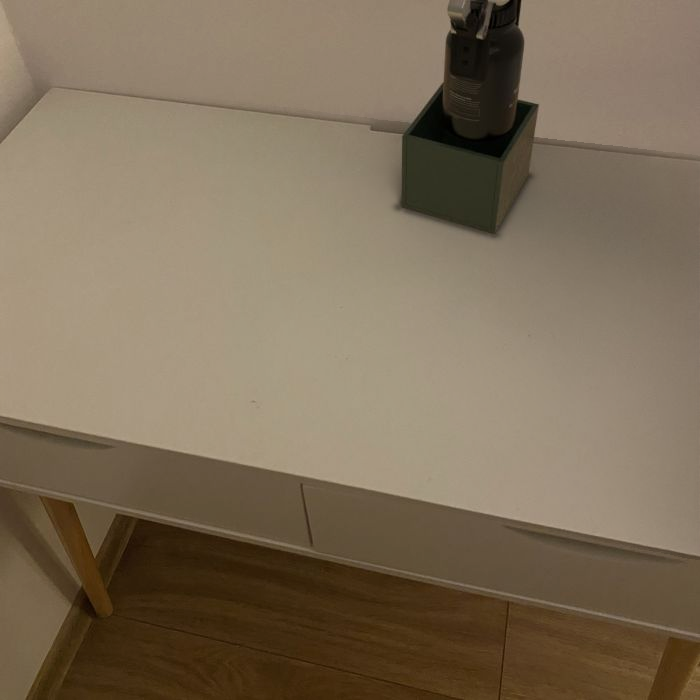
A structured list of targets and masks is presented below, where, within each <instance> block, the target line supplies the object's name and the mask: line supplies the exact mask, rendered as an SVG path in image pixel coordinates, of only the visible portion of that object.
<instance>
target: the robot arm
mask: <svg viewBox="0 0 700 700" xmlns="http://www.w3.org/2000/svg"><path fill="white" fill-rule="evenodd" d="M508 1H509V0H449V1H448V5H447V9H446V11H447V12H446V13H447V16H448V17H449V22H450V29H451V34H452V38H451V56H450V73H451V74H452V75H455V76H459V77H464V78H468V79H473V80H477V81H484V80H485V78H486V77H487V74H488V63H489V53H490V42H491V35H490V34H487V30H488V26H489V21H490V17H491V12H492V8H493V3H496V5H498V6H502V5H504V4H505V3H507V2H508ZM471 2H475V3H480V4H483V5H482V10H481V14H480V19H479V20H478V18H477V16H476V14H474V13H471V12H470V11H471V8H470V3H471ZM521 7H522V0H517V10H516V14H517V17H516V23H515V24H516V25H517V26H518V27H519V25H520V16H521Z"/></svg>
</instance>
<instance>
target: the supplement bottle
mask: <svg viewBox="0 0 700 700" xmlns="http://www.w3.org/2000/svg"><path fill="white" fill-rule="evenodd" d="M482 5H483V4H480V3H475V2H471V3H470V8H471V11H470V12H471V13H474V14H476V16H477V18H478V20H479V19H480V14H481V10H482ZM516 10H517V0H509V1H508V2H507V3H505V4H504V5H502V6H498V5H496V3H493V8H492V12H491V17H490V21H489V26H488V30H487V34H490V35H491V42H490V53H489V63H488V74H487V77H486V78H485V80H484V81H477V80H473V79H468V78H464V77H459V76H455V75H452V74H451V73H450V56H451V38H452V34H451V28H450V29H449V31H448V33H447V34H446V38H445V45H444V61H443V62H444V65H443V66H444V67H443V82H444V84H443V106H442V121H443V124H444V126H445V128H446V129H447V130H448V132H450V133H451V134H452V135H454V136H455V137H457V138H459V139H462V140H466V141H471V142H488V141H493V140H496V139H499V138H501V137H503V136H504V135H506V134H507V133H508V132H509V131H510V130H511V129H512V127H513V125H514V123H515V117H516V110H517V102H518V100H519V93H520V87H521V76H522V68H523V61H524V52H525V37H524V34H523V32H522V30H521V28H520V27H519V25H518V26H517V25H516V24H515V23H516V17H517V14H516Z"/></svg>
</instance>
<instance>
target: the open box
mask: <svg viewBox="0 0 700 700" xmlns="http://www.w3.org/2000/svg"><path fill="white" fill-rule="evenodd" d="M443 84H444V81H443V82H442V83H440V85H439V87H438V88H437V89H436V91H435V92H434V93H433V95H432V96H431V97H430V98H429V100H428V101H427V103H426V104H425V105H424V106H423V108H422V109H421V110H420V112H419V113H418V115H417V116H416V117H415V118H414V120H413V121H412V122H411V124H410V125H409V126H408V128H407V129H406V131H405V132H403V135H402V136H401V201H400V202H401V205H400V206H401V207H402V208H404V209H407V210H412V211H414V212H418V213H422V214H425V215H428V216H432V217H434V218H435V217H436V218H439V219H442V220H445V221H450V222H453V223H456V224H460V225H463V226H467V227H469V228H474V229H477V230H481V231H484V232H487V233H491V234H494V235H495V234H496V232H497V231H498V229H499V227H500V225H501V224H502V223H503V220H504V218H505V216H506V215H507V213H508V211H509V210H510V208H511V206H512V205H513V202H514V201H515V199H516V197H517V195H518V194H519V192H520V190H521V189H522V187H523V185H524V183H525V181H526V180H527V178H528V176H529V171H530V166H531V158H532V154H533V146H534V139H535V134H536V133H535V132H536V126H537V120H538V115H539V114H538V113H539V107H540V103H534V102H530V101H526V100H522V99H518V102H517V110H516V117H515V123H514V125H513V127H512V129H511V130H510V131H509V132H508V133H507V134H506V135H504V136H503V137H501V138H499V139H496V140H493V141H488V142H471V141H466V140H462V139H459V138H457V137H455V136H454V135H452V134H451V133H450V132H448V130H447V129H446V128H445V126H444V124H443V121H442V106H443Z"/></svg>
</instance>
